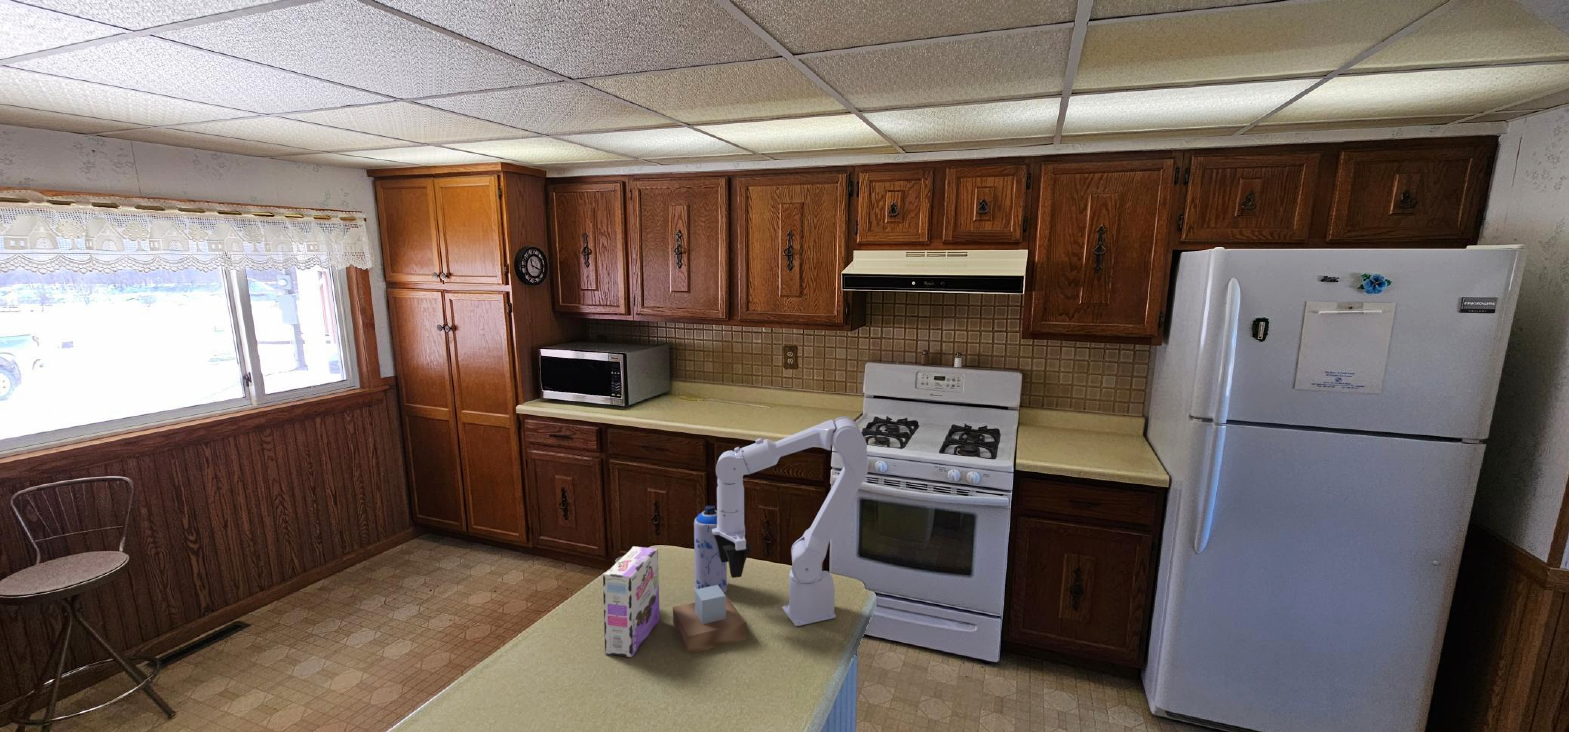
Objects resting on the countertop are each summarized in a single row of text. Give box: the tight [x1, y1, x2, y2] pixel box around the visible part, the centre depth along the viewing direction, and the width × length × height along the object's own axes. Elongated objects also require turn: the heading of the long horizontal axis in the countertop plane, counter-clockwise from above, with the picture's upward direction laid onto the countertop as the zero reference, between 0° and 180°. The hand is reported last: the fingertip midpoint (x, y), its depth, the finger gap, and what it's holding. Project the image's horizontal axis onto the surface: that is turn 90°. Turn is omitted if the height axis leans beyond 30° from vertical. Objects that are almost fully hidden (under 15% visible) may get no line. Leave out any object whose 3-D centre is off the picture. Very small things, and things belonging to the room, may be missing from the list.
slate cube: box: [694, 585, 727, 624], centre depth 126 cm, size 5×5×5 cm
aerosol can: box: [693, 504, 729, 594], centre depth 144 cm, size 8×8×20 cm
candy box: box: [602, 546, 660, 658], centre depth 124 cm, size 14×6×16 cm, turn 168°
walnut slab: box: [672, 595, 747, 654], centre depth 127 cm, size 12×12×4 cm
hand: (731, 568), depth 132 cm, fingers open, 7 cm apart
